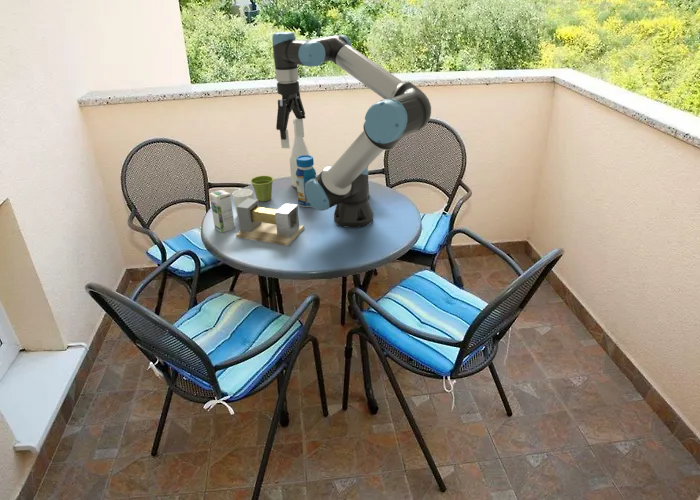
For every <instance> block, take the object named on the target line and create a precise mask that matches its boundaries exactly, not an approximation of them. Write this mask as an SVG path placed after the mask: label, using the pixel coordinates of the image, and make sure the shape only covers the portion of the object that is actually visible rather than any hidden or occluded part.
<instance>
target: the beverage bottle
mask: <svg viewBox="0 0 700 500" xmlns="http://www.w3.org/2000/svg"><path fill="white" fill-rule="evenodd" d="M296 161H297V166H298V169H297V171H296V176H297V178H296V183H297V188H296V191H297V203H298V204H297V205H298V206H300V207H303V208H313V207H312V206H311V204H310V203H309V201H308V200H307V197H306V193H305V185H306V183H307V182H308V181H309V180H310V179H314V178H316V177H317V176H316V175H317V172H316V171H317V170H316V169H315V168H314V164H315V163H314V156H312V155H311V154H310V155H301V156H298V157H297V159H296Z"/></svg>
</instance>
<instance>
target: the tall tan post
mask: <svg viewBox="0 0 700 500" xmlns="http://www.w3.org/2000/svg"><path fill="white" fill-rule="evenodd" d="M277 210H278V209H276V208H268V207H261V206H259V207H256V206H255V207H254V208H253V209H251V210H250V213H251V220H252V221H256V222H263V223H269V224H276V218H275V212H276V211H277Z"/></svg>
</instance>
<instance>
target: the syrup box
mask: <svg viewBox="0 0 700 500" xmlns="http://www.w3.org/2000/svg"><path fill="white" fill-rule="evenodd" d="M209 199H210V200H209V201H210V206H211V212H212V218H213V225H214V229H215V230H217V231H219V232H220V233H222V234H223V233H227V232H228V231H231V230H233V229H235V228H236V227H235V218H234V211H233V205H232V197H231V193H230V192H227V191H225V190H224V189H220V190H216V191H212V192H210V193H209Z"/></svg>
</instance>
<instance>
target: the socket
mask: <svg viewBox="0 0 700 500" xmlns="http://www.w3.org/2000/svg"><path fill="white" fill-rule="evenodd" d="M255 206H256V207H260V201H259V200H258V199H257V198H253V199H251V198H247V199H246V200H245V201H244V202H242V203H241V204H240V205H238V206H237V212H238V217H237V219H238V225H239V231H245V232H252V231H253V230H254V229H255V228H256V227H258V226H259V225H260V224H261V222H256V221H252V220H251V213H250V210H251V209H253V208H254V207H255ZM237 212H236V213H237Z"/></svg>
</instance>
